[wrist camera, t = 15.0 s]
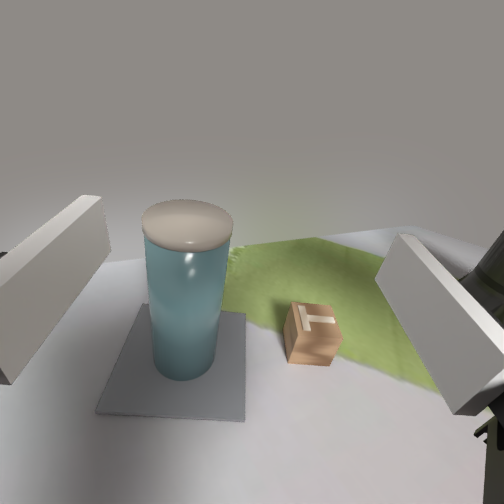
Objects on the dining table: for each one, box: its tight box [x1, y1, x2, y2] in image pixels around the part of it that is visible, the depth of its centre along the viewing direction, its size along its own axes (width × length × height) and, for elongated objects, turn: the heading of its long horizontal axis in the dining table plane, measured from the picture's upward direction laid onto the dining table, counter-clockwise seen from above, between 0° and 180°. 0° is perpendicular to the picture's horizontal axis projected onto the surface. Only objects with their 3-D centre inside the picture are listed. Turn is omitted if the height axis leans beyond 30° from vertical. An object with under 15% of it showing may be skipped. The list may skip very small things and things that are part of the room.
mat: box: [95, 304, 246, 422], centre depth 37 cm, size 16×16×1 cm
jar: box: [142, 200, 233, 381], centre depth 31 cm, size 8×8×20 cm
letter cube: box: [283, 302, 343, 366], centre depth 39 cm, size 6×6×6 cm
